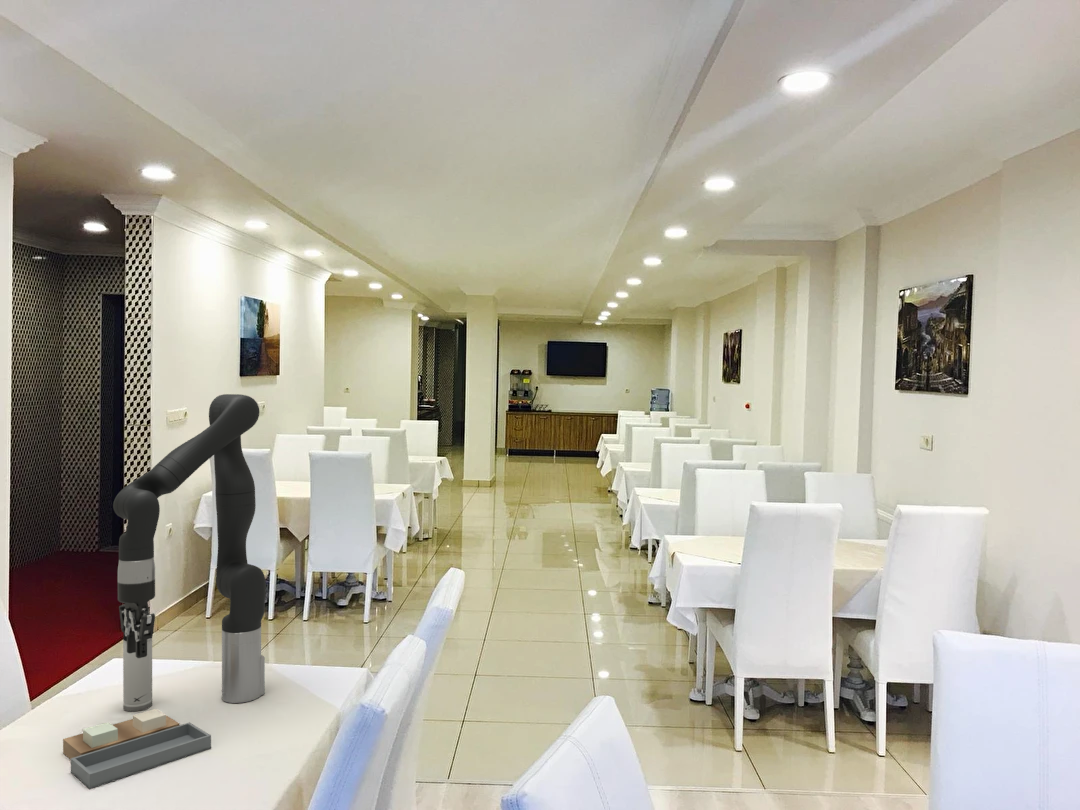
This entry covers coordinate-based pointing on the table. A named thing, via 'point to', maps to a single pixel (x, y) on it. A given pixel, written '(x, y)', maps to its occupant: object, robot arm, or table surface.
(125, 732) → the walnut board
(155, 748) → the tray
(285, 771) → the table surface
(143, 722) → the tile
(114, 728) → the tile
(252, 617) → the robot arm
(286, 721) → the table surface
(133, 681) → the travel mug
